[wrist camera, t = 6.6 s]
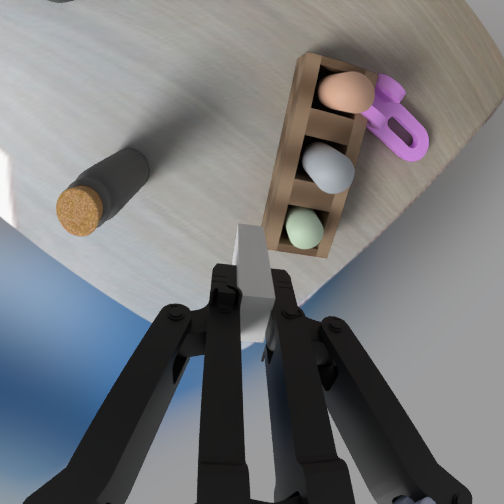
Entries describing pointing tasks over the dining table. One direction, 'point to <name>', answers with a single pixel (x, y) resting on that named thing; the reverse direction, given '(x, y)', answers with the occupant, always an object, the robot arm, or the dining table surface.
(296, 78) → the walnut rack
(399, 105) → the bracket
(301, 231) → the green rounded cylinder
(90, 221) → the bottle
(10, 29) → the dining table surface
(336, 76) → the brown egg
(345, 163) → the grey rounded cylinder
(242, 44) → the dining table surface
